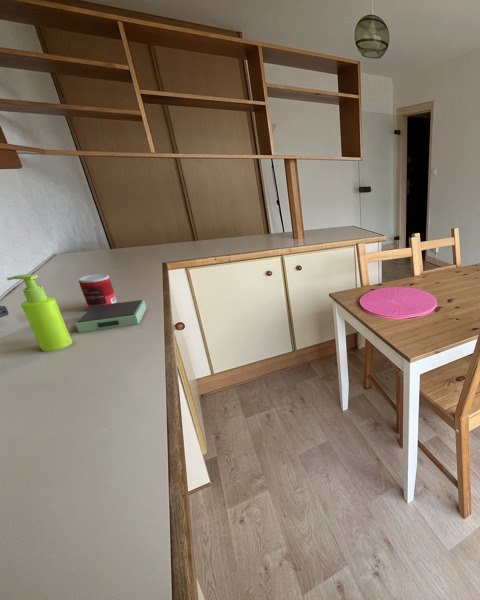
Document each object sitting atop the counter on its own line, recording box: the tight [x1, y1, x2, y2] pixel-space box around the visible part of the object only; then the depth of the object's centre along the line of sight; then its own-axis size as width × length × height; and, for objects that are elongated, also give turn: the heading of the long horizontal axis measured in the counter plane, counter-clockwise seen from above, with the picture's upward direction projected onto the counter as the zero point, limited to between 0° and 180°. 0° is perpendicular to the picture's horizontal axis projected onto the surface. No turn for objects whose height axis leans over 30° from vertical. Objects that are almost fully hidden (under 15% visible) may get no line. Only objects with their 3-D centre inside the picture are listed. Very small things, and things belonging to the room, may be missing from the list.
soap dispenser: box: [6, 274, 73, 352], centre depth 81 cm, size 6×7×20 cm
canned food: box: [77, 273, 118, 310], centre depth 108 cm, size 8×8×11 cm
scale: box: [75, 299, 147, 333], centre depth 100 cm, size 14×14×3 cm
